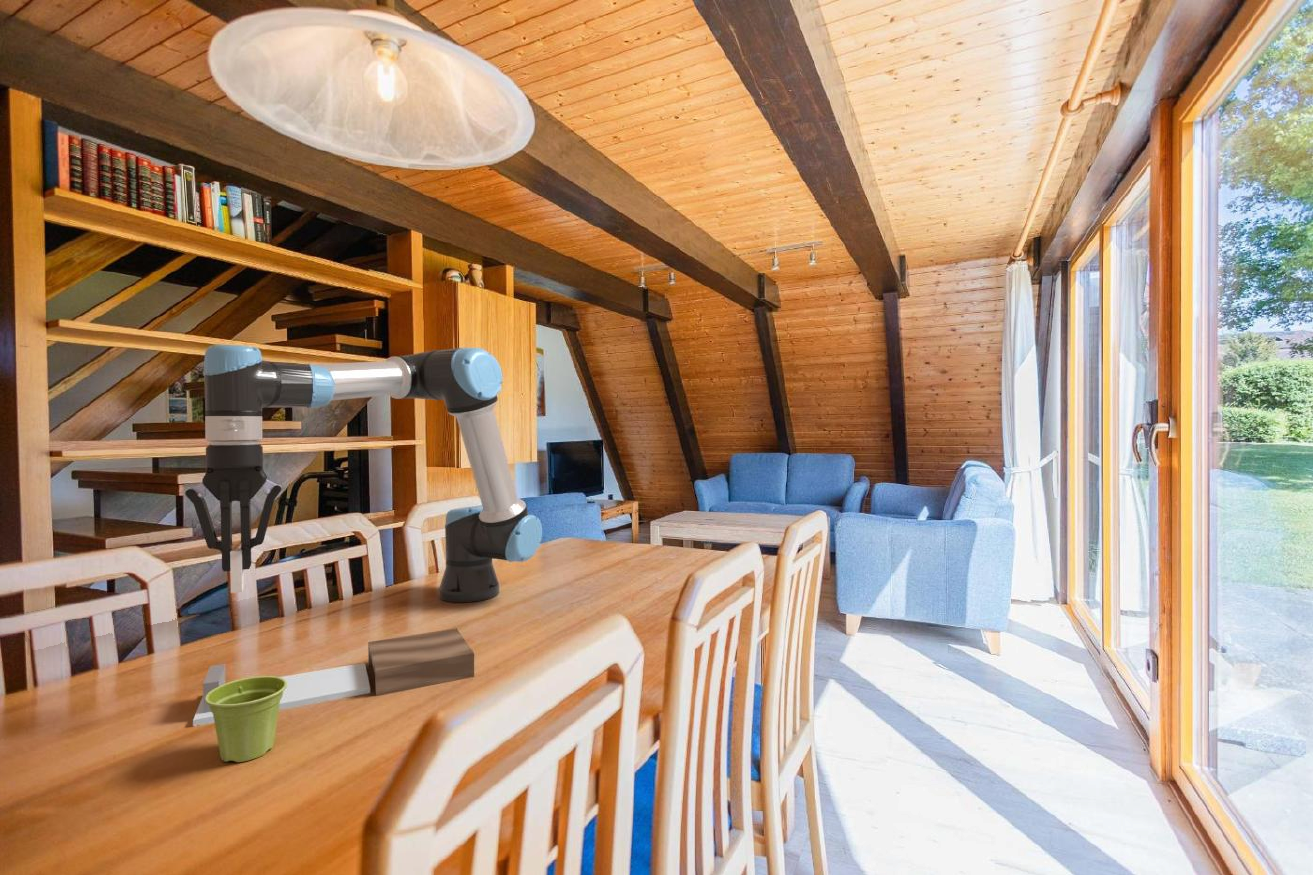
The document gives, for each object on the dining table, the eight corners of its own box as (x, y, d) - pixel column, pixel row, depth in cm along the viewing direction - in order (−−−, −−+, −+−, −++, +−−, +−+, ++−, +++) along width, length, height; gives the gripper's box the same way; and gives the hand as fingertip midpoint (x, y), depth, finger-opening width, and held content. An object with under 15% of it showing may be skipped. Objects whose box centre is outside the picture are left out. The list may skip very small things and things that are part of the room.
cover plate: (205, 698, 103) (204, 662, 103) (364, 670, 115) (364, 638, 115) (193, 730, 93) (192, 690, 92) (370, 695, 104) (369, 660, 104)
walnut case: (368, 664, 116) (368, 642, 116) (456, 649, 124) (456, 628, 124) (376, 695, 103) (375, 670, 103) (474, 676, 111) (474, 653, 111)
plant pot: (277, 727, 92) (276, 670, 92) (296, 752, 86) (295, 689, 85) (200, 751, 86) (199, 689, 86) (213, 779, 79) (212, 711, 79)
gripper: (179, 444, 93) (182, 602, 93) (281, 443, 99) (283, 590, 100) (188, 443, 99) (190, 590, 100) (283, 441, 106) (285, 580, 106)
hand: (237, 590), depth 100 cm, fingers closed
